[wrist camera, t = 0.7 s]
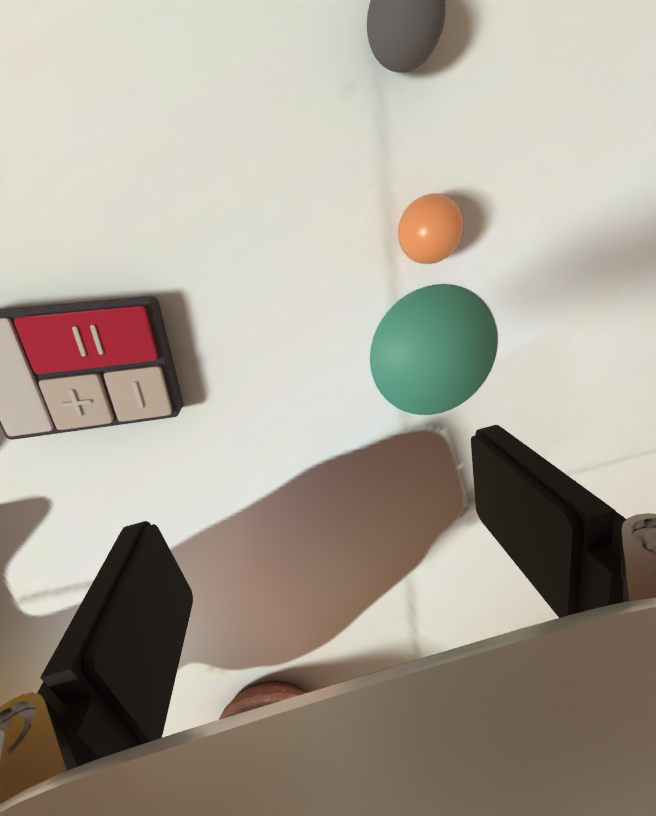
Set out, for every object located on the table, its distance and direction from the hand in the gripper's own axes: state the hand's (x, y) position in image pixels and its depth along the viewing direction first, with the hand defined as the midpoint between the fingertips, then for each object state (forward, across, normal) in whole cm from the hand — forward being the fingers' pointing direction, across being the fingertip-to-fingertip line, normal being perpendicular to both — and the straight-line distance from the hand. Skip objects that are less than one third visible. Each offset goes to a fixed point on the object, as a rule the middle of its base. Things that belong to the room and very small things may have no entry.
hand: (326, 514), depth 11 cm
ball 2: (+25, -14, -6) cm, 30 cm away
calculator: (+28, +19, -2) cm, 34 cm away
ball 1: (+25, -14, -20) cm, 35 cm away
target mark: (+28, -15, +6) cm, 32 cm away
